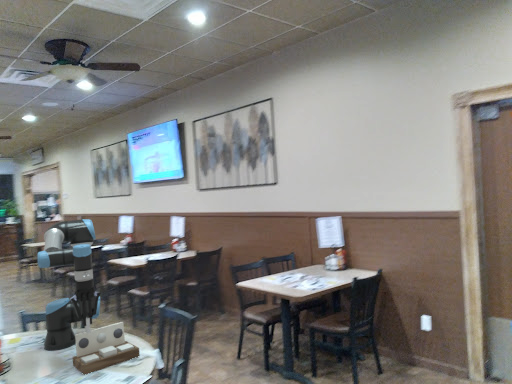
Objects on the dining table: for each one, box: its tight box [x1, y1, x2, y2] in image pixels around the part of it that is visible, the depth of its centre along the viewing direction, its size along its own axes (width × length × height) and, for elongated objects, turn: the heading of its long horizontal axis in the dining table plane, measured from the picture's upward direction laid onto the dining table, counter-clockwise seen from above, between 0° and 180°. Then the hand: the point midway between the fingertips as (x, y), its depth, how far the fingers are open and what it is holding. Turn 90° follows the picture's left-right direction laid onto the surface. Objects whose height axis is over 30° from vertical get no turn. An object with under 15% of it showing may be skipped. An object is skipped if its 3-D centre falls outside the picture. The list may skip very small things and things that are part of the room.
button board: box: [71, 340, 141, 376], centre depth 187 cm, size 15×25×4 cm, turn 131°
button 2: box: [116, 342, 135, 352], centre depth 190 cm, size 6×6×3 cm
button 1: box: [81, 354, 99, 364], centre depth 180 cm, size 6×6×3 cm
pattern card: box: [74, 321, 126, 357], centre depth 191 cm, size 2×22×10 cm, turn 131°
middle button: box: [99, 346, 117, 358], centre depth 185 cm, size 6×6×3 cm
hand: (87, 332), depth 182 cm, fingers closed
